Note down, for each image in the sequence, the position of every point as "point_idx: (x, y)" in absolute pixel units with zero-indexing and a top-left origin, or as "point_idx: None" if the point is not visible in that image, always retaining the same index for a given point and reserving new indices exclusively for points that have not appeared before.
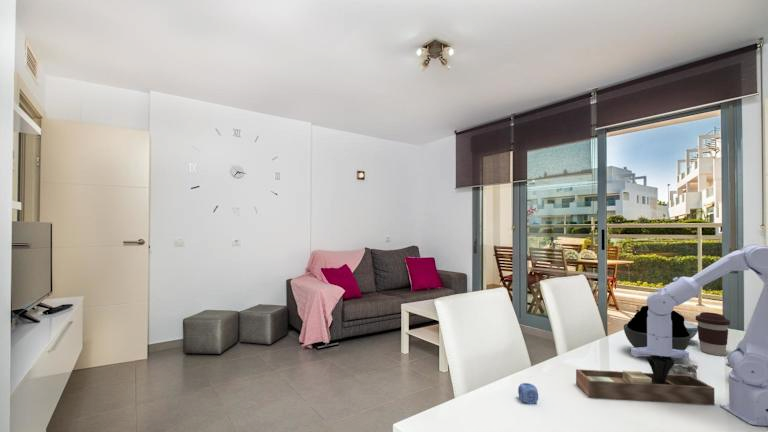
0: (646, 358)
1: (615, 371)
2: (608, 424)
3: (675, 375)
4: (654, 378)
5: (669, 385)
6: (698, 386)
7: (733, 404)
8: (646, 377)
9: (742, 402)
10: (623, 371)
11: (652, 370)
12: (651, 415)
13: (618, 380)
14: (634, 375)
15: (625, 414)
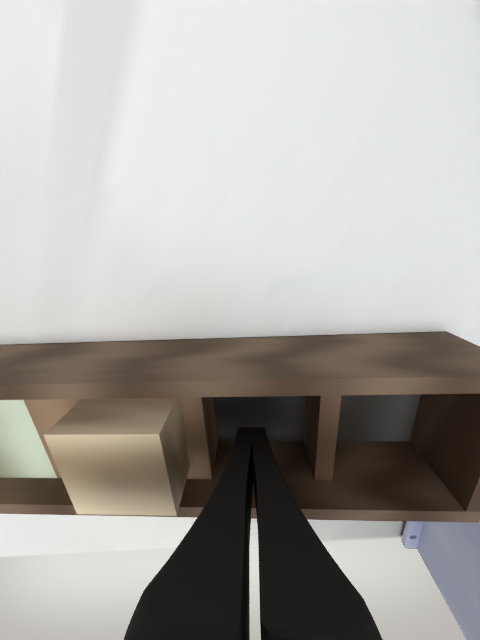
0: (155, 583)
1: (25, 387)
2: (22, 553)
3: (413, 392)
4: (236, 435)
5: (253, 515)
6: (406, 513)
7: (443, 534)
8: (154, 506)
9: (463, 585)
10: (48, 439)
11: (221, 478)
12: (143, 516)
13: (58, 414)
14: (95, 489)
15: (73, 517)
